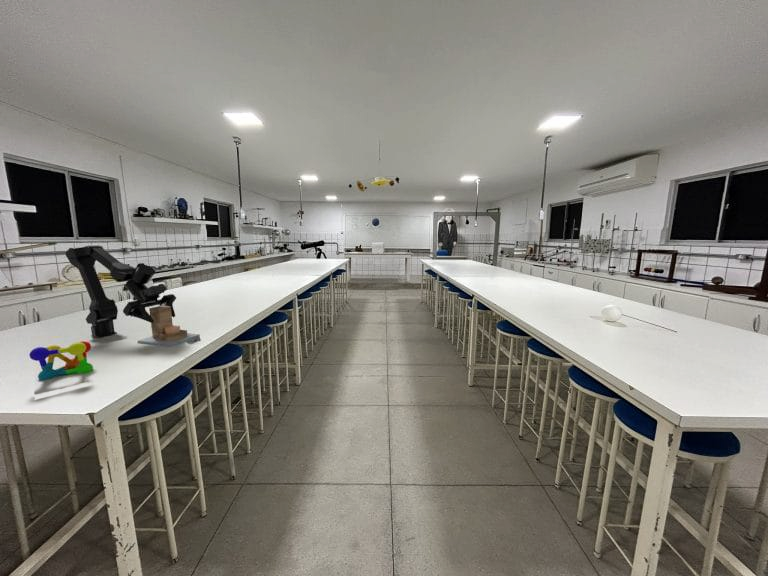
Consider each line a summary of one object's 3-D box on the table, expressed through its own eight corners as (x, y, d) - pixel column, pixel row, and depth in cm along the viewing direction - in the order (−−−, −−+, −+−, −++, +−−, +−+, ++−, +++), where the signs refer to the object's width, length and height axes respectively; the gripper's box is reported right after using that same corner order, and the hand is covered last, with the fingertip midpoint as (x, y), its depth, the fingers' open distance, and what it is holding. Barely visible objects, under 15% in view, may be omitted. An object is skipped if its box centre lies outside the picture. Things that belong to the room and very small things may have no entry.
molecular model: (73, 367, 101) (102, 330, 101) (80, 391, 94) (111, 352, 95) (8, 361, 88) (42, 319, 89) (11, 388, 82) (47, 343, 83)
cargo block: (165, 336, 122) (164, 327, 122) (173, 333, 125) (172, 325, 125) (172, 336, 121) (171, 328, 121) (180, 334, 125) (179, 325, 124)
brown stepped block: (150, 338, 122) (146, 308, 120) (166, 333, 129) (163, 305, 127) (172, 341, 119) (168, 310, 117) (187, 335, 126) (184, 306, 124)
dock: (137, 345, 120) (137, 340, 120) (168, 335, 133) (167, 331, 132) (171, 349, 116) (171, 344, 116) (200, 338, 129) (199, 334, 128)
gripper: (124, 281, 113) (151, 311, 112) (170, 275, 131) (193, 302, 130) (111, 300, 116) (137, 330, 115) (158, 292, 134) (180, 318, 133)
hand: (164, 319), depth 123 cm, fingers open, 9 cm apart
